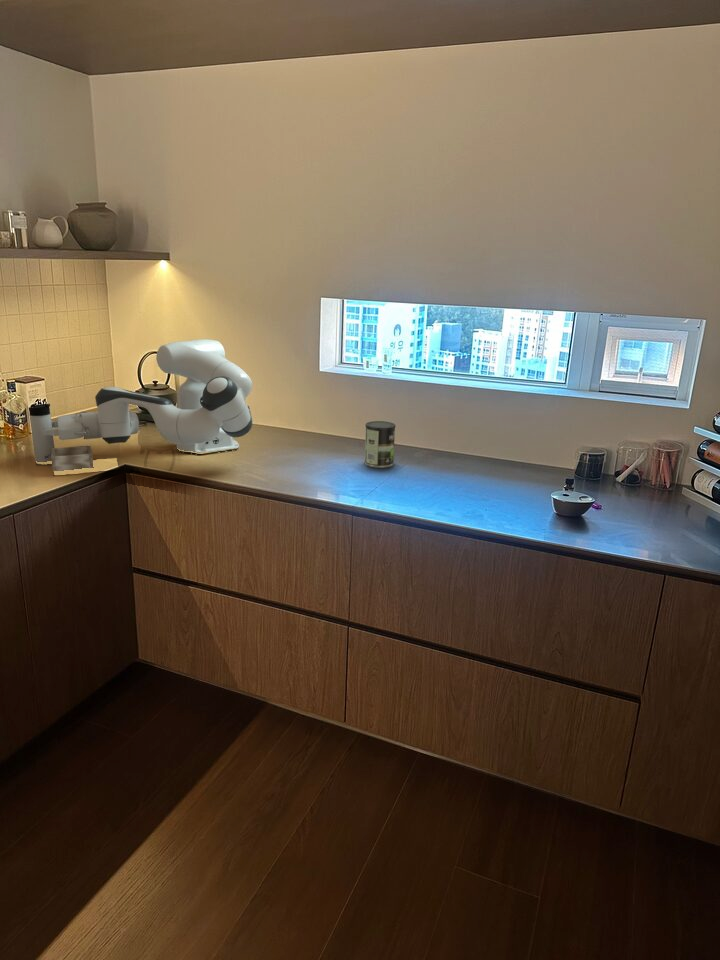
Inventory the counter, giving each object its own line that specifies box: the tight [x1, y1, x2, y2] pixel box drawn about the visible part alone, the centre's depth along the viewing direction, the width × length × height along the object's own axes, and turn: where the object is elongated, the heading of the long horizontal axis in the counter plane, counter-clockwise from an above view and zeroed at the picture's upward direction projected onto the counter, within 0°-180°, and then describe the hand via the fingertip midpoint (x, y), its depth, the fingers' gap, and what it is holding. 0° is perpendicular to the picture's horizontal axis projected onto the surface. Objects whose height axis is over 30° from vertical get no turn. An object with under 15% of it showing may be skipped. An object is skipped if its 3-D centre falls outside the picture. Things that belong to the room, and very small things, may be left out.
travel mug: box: [28, 403, 56, 462], centre depth 222 cm, size 6×7×20 cm
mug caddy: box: [51, 445, 94, 473], centre depth 220 cm, size 20×12×6 cm, turn 114°
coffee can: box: [364, 420, 396, 469], centre depth 233 cm, size 10×10×14 cm
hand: (42, 428), depth 221 cm, fingers open, 8 cm apart
